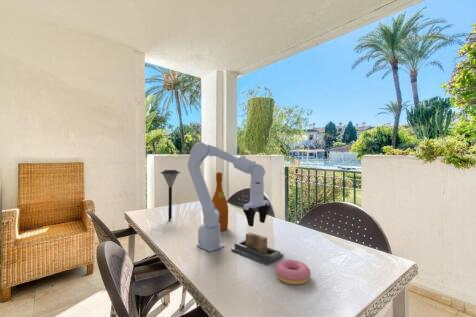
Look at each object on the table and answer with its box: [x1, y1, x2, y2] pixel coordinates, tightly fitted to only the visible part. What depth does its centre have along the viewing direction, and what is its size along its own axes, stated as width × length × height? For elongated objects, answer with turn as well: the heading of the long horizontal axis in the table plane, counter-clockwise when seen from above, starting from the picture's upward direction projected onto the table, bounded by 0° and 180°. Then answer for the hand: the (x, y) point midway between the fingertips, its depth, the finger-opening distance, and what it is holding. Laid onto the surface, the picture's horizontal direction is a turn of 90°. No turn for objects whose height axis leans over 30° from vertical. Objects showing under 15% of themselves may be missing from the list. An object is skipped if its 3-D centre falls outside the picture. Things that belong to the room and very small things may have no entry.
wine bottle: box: [211, 171, 229, 232], centre depth 122 cm, size 10×10×30 cm
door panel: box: [245, 232, 268, 254], centre depth 91 cm, size 9×2×6 cm, turn 46°
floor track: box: [231, 239, 284, 266], centre depth 91 cm, size 18×10×2 cm, turn 46°
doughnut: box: [274, 259, 312, 285], centre depth 74 cm, size 11×11×4 cm
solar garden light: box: [160, 169, 181, 221], centre depth 139 cm, size 12×12×30 cm
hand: (256, 224), depth 99 cm, fingers open, 7 cm apart
